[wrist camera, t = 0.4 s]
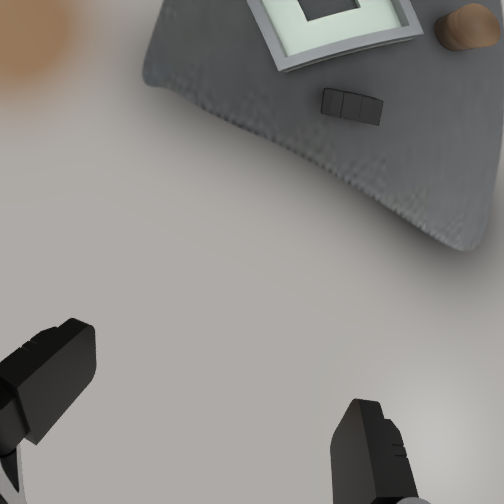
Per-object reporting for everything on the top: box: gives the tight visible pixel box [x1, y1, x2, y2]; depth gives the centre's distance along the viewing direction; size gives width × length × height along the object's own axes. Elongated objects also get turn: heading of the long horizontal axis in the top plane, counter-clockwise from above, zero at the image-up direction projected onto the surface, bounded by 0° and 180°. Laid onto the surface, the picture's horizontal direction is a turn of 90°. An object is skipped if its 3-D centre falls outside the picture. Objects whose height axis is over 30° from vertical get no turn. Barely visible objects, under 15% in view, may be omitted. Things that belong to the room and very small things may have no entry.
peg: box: [434, 3, 500, 51], centre depth 19 cm, size 4×4×8 cm
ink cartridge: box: [321, 88, 383, 126], centre depth 26 cm, size 5×2×8 cm, turn 84°
